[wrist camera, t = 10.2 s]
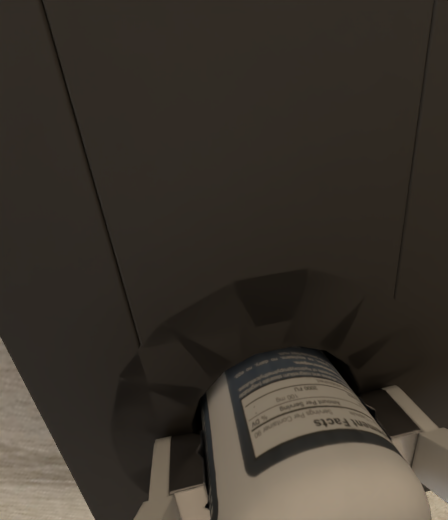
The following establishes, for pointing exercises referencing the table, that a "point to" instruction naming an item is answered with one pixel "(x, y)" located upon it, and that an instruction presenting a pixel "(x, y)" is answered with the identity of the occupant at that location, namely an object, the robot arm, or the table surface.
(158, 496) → the robot arm
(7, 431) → the table surface
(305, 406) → the pill bottle
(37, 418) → the table surface
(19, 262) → the socket pad
